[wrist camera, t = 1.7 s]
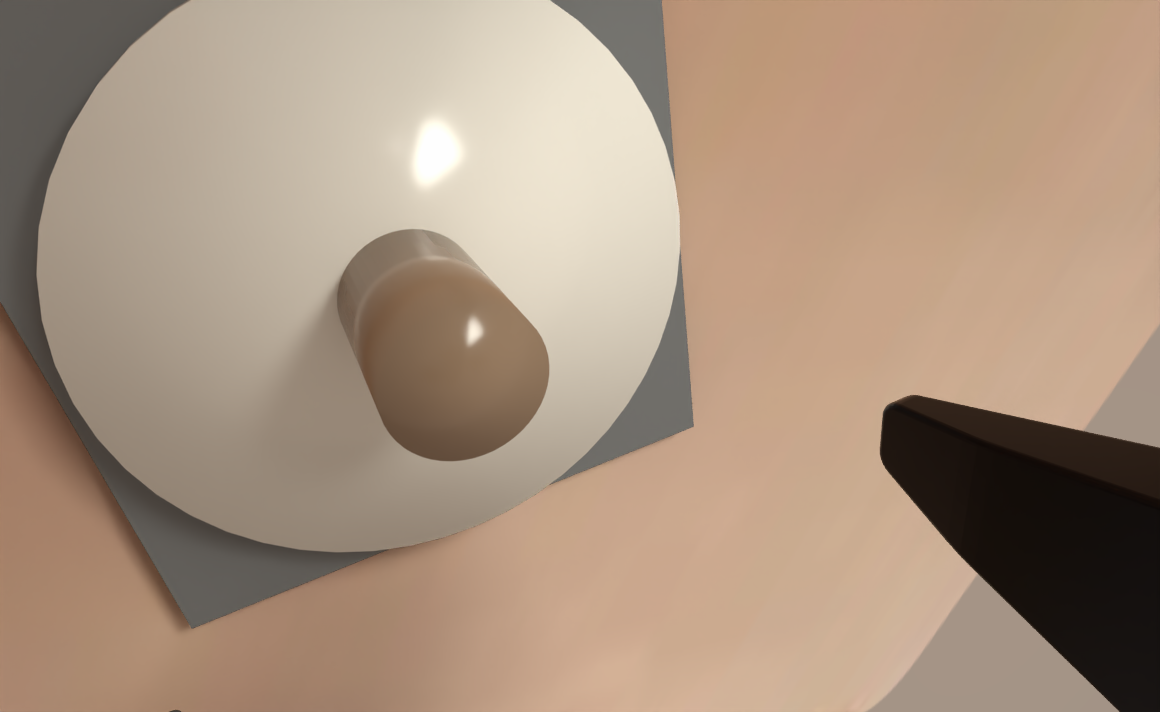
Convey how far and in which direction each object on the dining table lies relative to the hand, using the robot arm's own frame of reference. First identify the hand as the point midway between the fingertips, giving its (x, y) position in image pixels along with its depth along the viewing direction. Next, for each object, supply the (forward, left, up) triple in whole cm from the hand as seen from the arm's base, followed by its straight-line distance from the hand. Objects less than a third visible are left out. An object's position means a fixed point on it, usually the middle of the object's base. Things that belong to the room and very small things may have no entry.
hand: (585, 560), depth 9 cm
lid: (0, 0, -10) cm, 10 cm away
